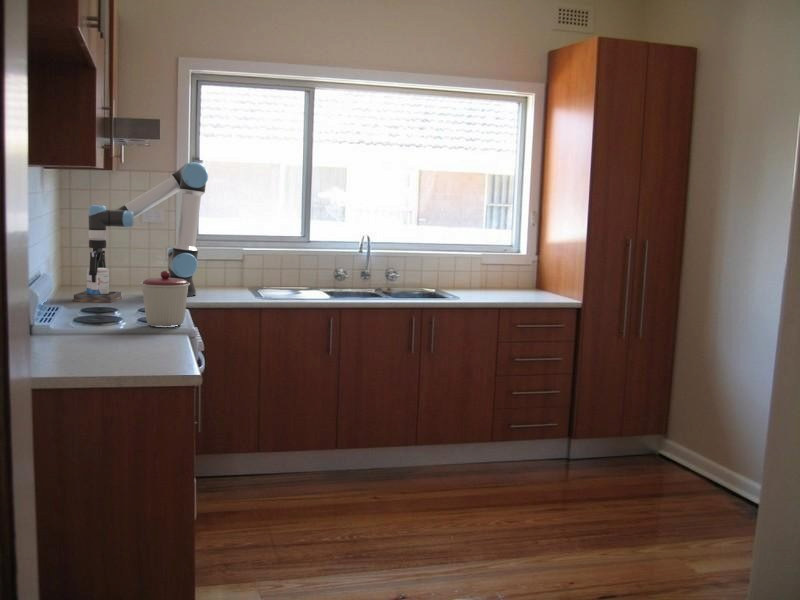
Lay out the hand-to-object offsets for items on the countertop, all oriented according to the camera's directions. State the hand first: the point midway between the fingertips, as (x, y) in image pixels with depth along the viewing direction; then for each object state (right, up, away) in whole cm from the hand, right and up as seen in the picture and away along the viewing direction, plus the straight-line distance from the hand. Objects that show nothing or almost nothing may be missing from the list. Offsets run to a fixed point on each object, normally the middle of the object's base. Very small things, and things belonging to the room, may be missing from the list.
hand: (97, 288), depth 381 cm
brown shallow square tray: (0, -5, +1) cm, 5 cm away
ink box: (0, -3, 0) cm, 3 cm away
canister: (+50, -16, -66) cm, 84 cm away
